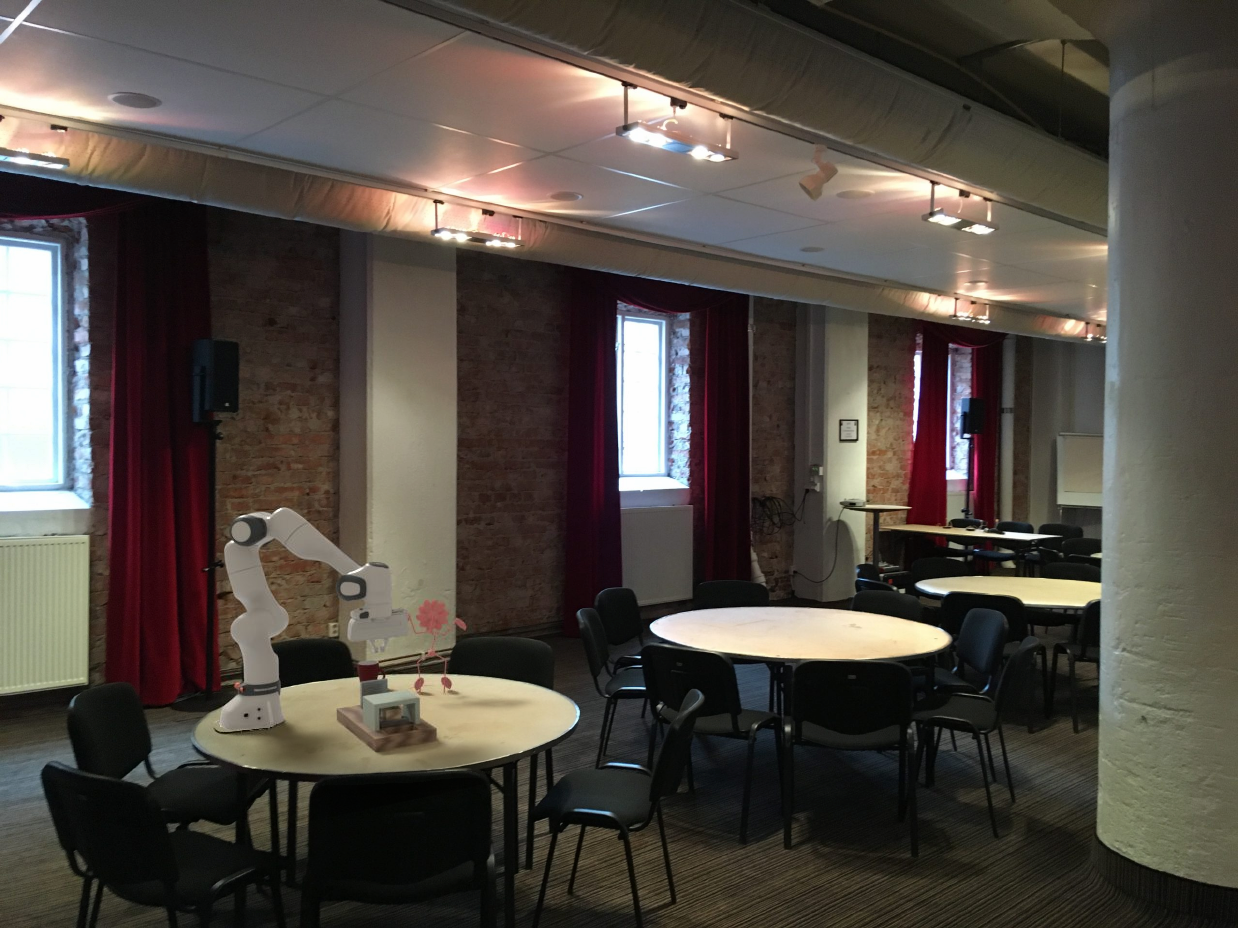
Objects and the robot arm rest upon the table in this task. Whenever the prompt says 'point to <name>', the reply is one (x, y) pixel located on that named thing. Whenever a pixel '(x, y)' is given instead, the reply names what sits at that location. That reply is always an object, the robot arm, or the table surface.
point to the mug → (369, 670)
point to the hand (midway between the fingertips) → (378, 651)
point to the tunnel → (388, 700)
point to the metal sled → (378, 688)
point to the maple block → (390, 713)
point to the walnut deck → (386, 731)
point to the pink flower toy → (433, 618)
